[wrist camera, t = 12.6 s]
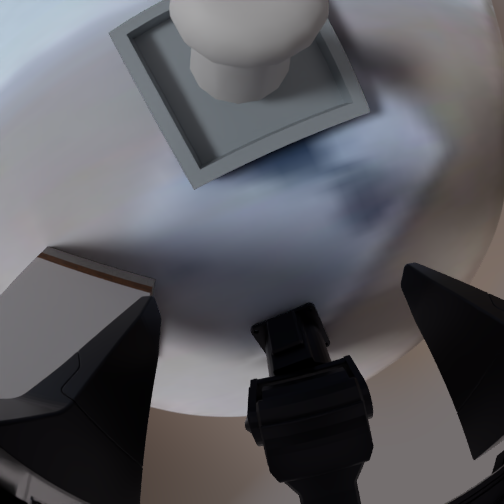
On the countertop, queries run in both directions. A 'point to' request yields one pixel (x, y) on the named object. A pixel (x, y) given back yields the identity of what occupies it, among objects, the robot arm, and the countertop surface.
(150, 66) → the tray
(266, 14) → the salt shaker
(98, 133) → the countertop surface
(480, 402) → the robot arm
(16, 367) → the display case
